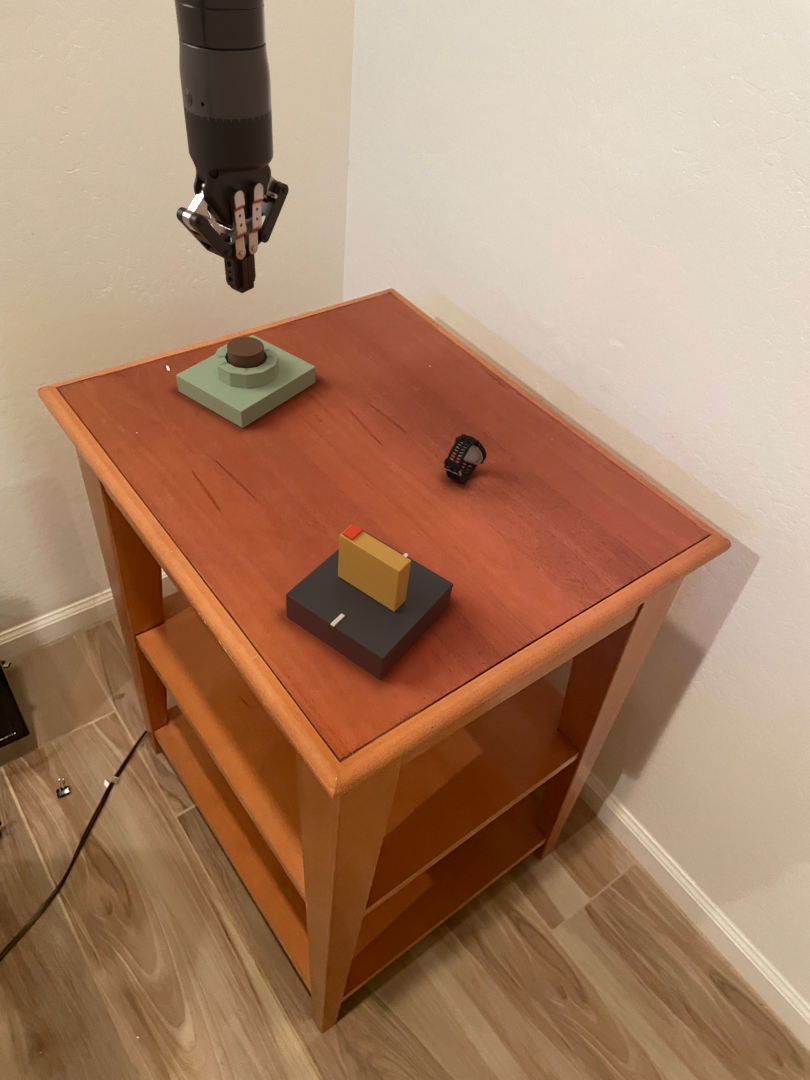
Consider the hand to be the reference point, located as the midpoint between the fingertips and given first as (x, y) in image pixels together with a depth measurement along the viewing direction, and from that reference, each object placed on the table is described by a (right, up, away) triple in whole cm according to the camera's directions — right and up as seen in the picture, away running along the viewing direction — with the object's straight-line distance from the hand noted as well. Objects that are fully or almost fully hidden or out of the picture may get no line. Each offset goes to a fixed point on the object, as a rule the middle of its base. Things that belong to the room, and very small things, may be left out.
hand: (241, 288), depth 76 cm
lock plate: (+14, -32, -13) cm, 37 cm away
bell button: (-1, -6, +6) cm, 9 cm away
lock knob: (+14, -30, -15) cm, 36 cm away
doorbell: (-1, -8, +9) cm, 12 cm away
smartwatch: (+22, -20, +1) cm, 30 cm away
